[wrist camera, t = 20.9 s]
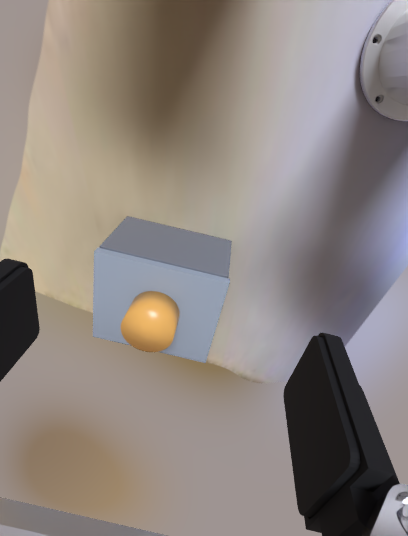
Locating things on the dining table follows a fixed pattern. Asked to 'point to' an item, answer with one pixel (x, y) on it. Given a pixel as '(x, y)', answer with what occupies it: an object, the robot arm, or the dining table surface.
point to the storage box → (171, 246)
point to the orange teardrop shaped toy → (151, 321)
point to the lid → (165, 281)
